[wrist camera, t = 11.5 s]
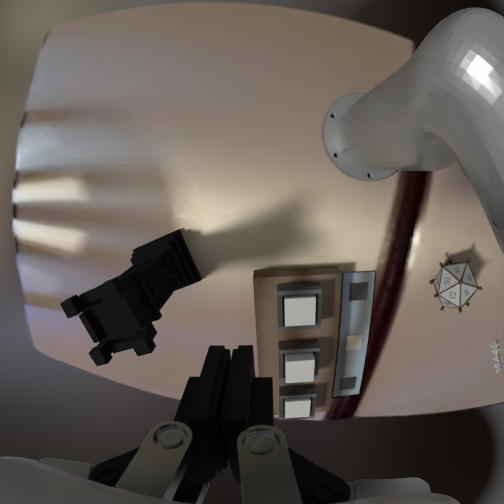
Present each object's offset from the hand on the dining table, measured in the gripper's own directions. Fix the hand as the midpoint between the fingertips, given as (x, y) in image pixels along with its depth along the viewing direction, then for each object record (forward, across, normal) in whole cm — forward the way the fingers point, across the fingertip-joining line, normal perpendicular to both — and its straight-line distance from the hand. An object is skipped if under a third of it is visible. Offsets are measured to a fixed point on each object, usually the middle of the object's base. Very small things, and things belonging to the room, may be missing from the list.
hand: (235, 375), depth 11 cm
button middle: (+26, -5, +19) cm, 33 cm away
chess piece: (+31, +14, +4) cm, 34 cm away
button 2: (+28, -5, +10) cm, 30 cm away
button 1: (+28, -5, +28) cm, 40 cm away
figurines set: (+32, -52, +30) cm, 68 cm away
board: (+31, -8, +19) cm, 37 cm away
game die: (+31, -31, +9) cm, 45 cm away
